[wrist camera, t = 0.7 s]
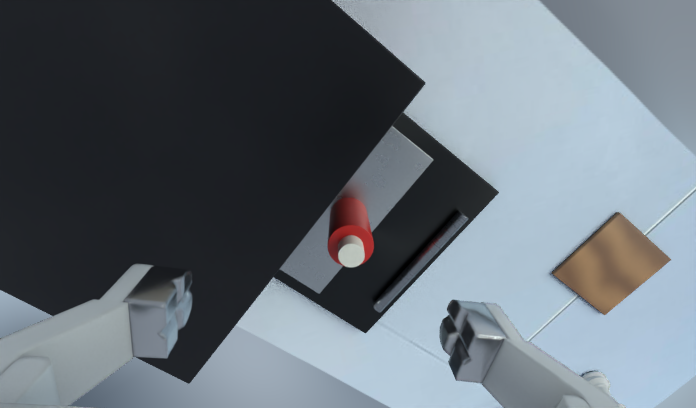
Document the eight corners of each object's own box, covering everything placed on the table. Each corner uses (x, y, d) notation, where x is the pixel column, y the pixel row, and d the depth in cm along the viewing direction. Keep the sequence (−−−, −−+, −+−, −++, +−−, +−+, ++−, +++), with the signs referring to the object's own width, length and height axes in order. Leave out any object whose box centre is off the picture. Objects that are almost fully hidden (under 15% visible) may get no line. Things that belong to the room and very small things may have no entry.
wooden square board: (617, 211, 45) (620, 213, 44) (668, 258, 48) (671, 259, 47) (551, 272, 48) (553, 274, 47) (602, 313, 50) (604, 315, 50)
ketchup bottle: (337, 192, 41) (335, 227, 31) (372, 204, 42) (383, 241, 31) (325, 225, 42) (320, 269, 32) (359, 236, 43) (365, 282, 33)
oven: (500, 184, 43) (625, 256, 24) (361, 332, 51) (373, 476, 32) (222, -49, 34) (77, -222, 15) (102, 173, 42) (-95, 242, 23)
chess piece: (576, 373, 54) (614, 419, 47) (605, 367, 54) (648, 412, 47) (577, 394, 56) (614, 441, 48) (605, 388, 56) (646, 435, 48)
